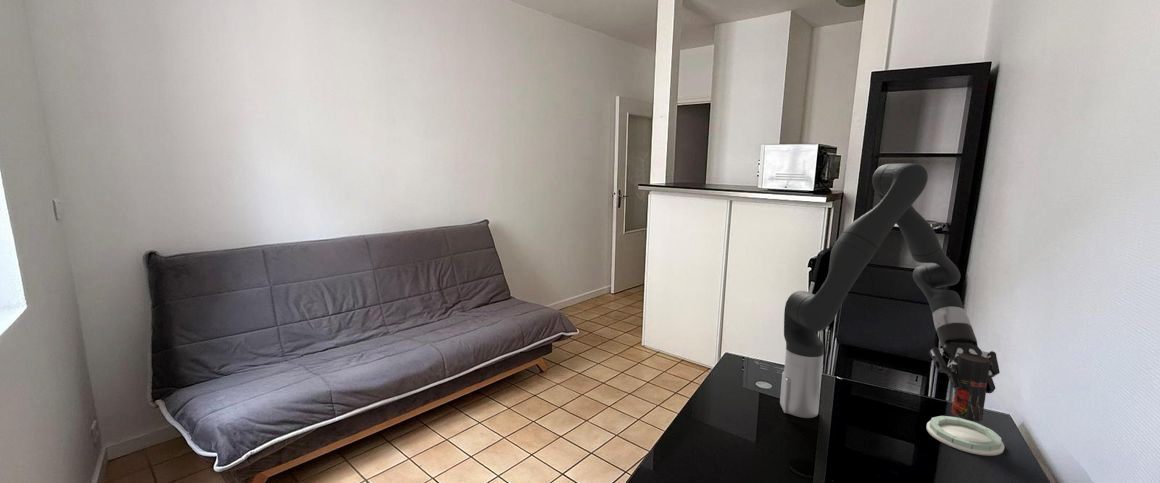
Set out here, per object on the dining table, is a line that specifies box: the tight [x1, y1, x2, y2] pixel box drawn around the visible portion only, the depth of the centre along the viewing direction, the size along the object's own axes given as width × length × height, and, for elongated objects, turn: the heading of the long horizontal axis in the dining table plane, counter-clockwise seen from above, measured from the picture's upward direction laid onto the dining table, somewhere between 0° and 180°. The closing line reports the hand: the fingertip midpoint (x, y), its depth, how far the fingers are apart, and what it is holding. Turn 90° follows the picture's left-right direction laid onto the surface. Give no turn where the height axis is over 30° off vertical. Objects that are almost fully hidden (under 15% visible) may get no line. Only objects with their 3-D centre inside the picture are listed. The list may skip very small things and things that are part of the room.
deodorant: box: [951, 353, 990, 422], centre depth 114 cm, size 6×6×15 cm
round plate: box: [926, 415, 1005, 457], centre depth 116 cm, size 15×15×2 cm
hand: (974, 390), depth 112 cm, fingers closed on deodorant, 6 cm apart
